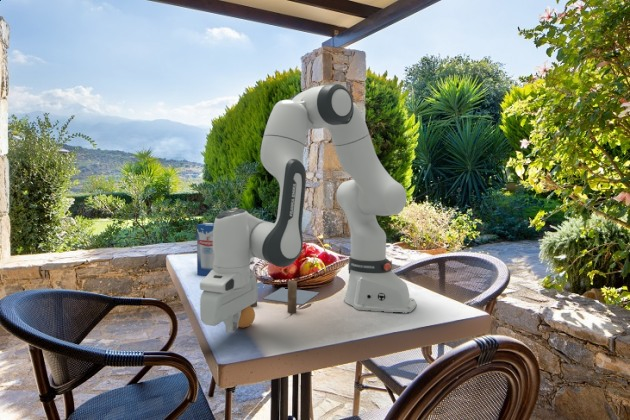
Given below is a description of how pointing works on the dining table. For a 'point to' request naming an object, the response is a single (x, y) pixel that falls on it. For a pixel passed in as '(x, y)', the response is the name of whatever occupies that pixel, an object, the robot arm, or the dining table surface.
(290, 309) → the post near
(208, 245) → the milk carton
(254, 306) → the post far
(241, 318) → the ball
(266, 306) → the dining table surface
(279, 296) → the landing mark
